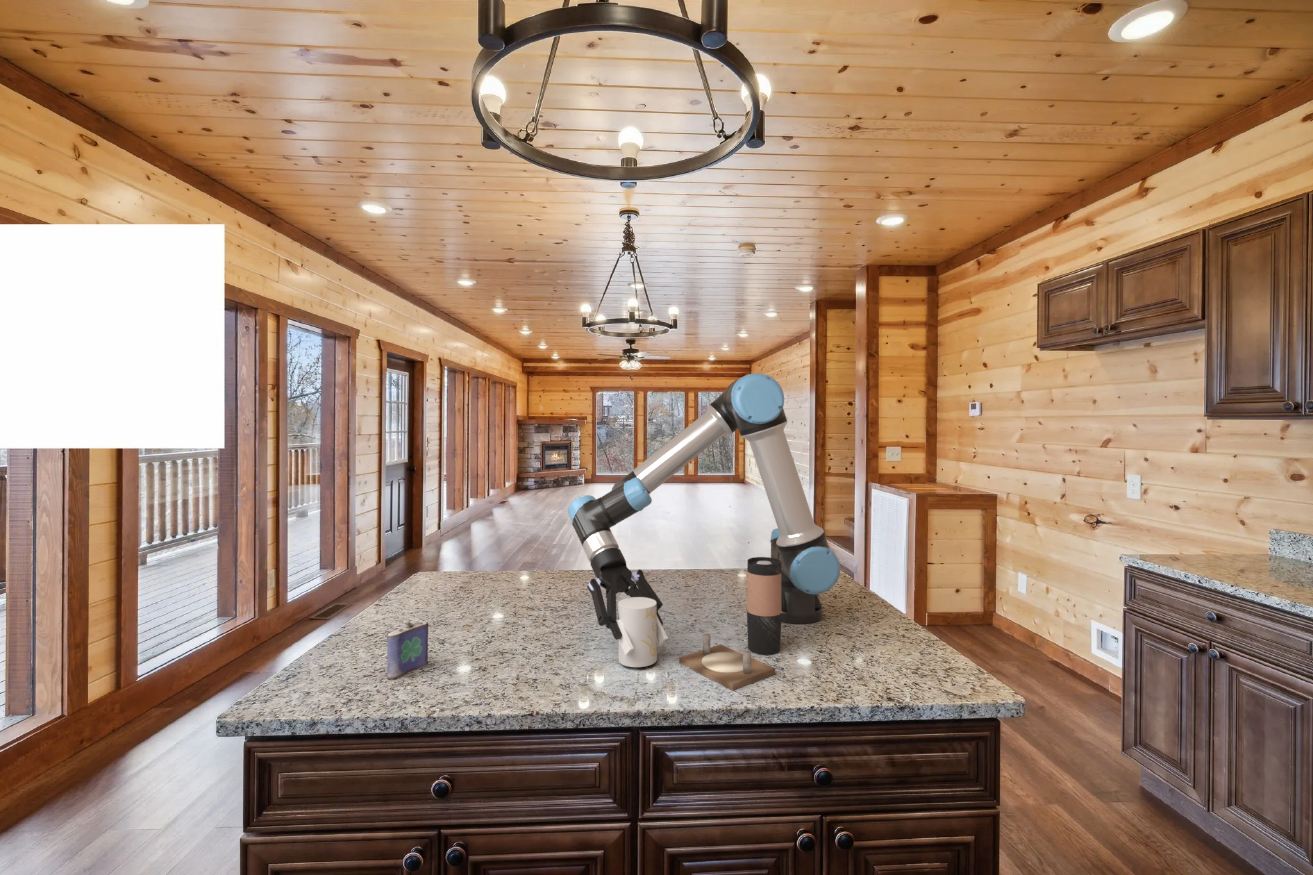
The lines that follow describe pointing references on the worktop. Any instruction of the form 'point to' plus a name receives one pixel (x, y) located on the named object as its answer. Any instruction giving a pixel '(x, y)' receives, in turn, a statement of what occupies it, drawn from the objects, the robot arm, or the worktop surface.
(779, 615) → the travel mug
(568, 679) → the worktop surface
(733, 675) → the tray
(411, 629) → the flask
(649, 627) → the cup
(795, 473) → the robot arm
